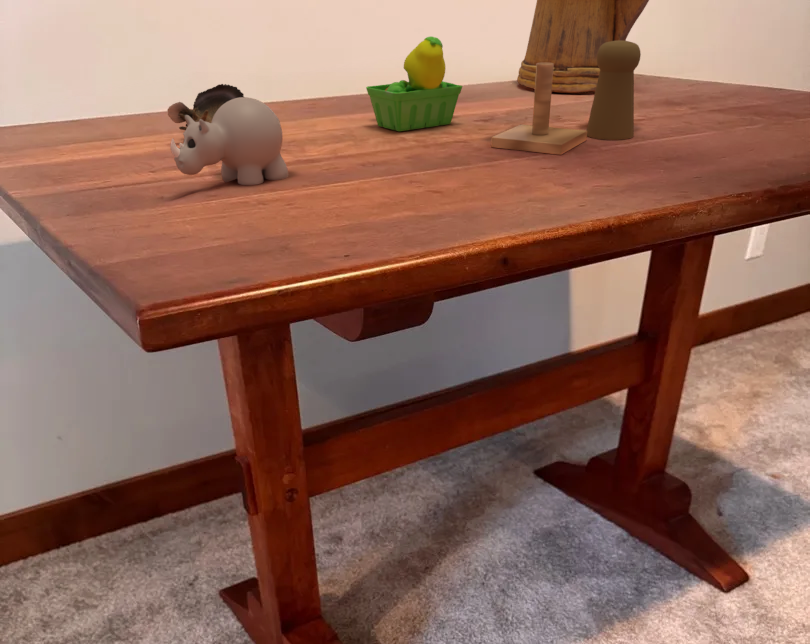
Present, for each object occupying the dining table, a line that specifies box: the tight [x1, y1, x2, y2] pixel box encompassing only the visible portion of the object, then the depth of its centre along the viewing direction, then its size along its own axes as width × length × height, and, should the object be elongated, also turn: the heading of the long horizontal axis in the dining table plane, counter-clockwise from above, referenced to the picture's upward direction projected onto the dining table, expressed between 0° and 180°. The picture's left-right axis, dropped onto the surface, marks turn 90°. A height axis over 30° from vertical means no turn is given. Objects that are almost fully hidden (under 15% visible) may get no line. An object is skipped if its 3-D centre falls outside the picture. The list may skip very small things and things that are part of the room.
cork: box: [585, 40, 642, 141], centre depth 100 cm, size 6×6×11 cm
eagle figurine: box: [166, 83, 245, 132], centre depth 101 cm, size 8×7×9 cm
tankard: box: [516, 0, 650, 94], centre depth 130 cm, size 18×24×25 cm
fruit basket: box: [365, 36, 463, 132], centre depth 106 cm, size 11×9×11 cm
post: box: [490, 62, 588, 156], centre depth 96 cm, size 9×9×9 cm
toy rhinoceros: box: [170, 96, 290, 186], centre depth 80 cm, size 7×12×8 cm, turn 129°
